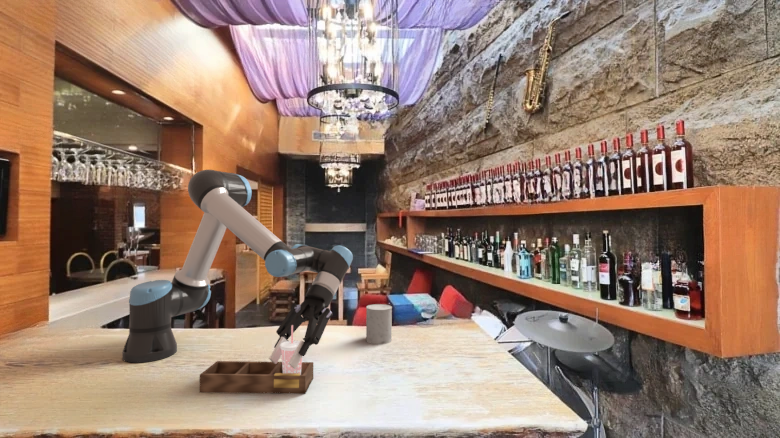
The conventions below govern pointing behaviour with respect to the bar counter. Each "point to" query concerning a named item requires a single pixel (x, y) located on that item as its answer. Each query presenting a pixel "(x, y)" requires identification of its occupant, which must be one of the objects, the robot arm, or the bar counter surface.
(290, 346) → the beverage cup
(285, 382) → the brown wooden compartment tray
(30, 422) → the bar counter surface
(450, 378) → the bar counter surface
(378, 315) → the gray concrete cylinder
